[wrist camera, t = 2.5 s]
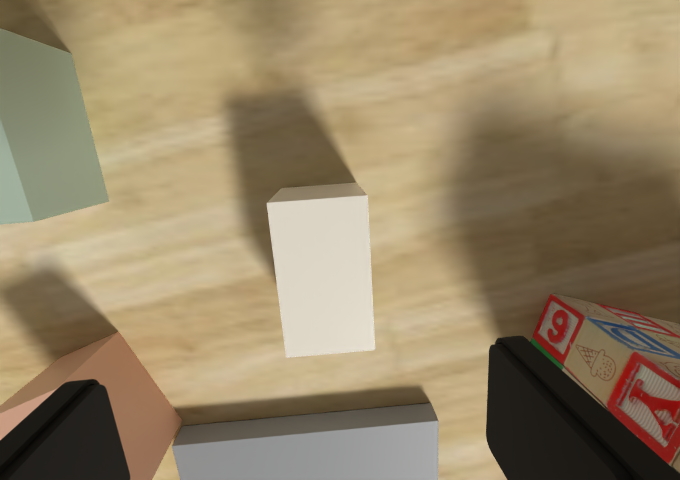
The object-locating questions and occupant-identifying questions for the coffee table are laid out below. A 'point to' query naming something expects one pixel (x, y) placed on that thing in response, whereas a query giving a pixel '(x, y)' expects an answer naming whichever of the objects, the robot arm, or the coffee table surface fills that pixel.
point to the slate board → (314, 447)
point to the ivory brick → (323, 268)
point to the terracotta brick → (125, 397)
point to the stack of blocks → (619, 365)
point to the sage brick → (43, 134)
